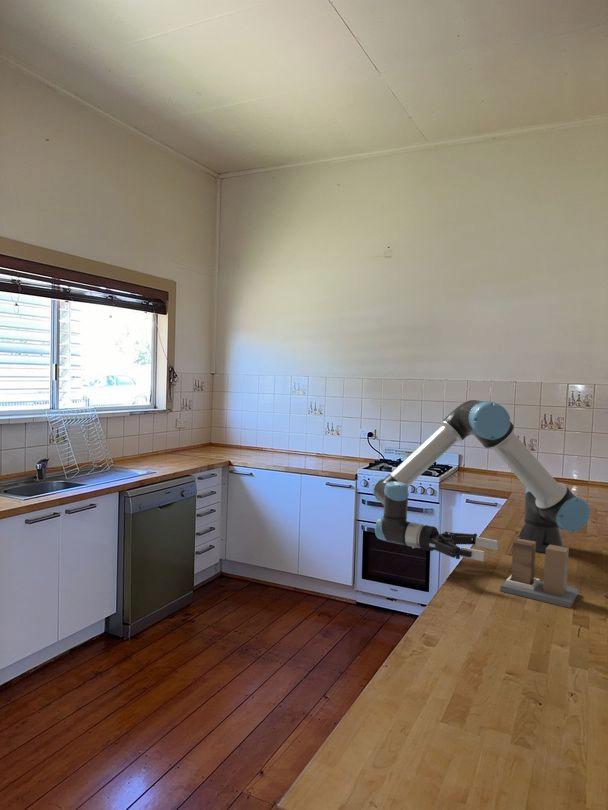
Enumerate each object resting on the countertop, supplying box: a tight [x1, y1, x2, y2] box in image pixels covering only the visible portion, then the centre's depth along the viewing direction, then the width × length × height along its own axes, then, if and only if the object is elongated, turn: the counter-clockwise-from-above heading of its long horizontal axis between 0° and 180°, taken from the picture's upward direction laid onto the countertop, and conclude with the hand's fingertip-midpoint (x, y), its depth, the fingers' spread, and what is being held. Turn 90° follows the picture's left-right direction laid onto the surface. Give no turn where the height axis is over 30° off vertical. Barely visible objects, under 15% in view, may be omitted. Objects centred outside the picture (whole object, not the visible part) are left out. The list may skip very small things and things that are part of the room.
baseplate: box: [500, 544, 579, 609], centre depth 157 cm, size 12×18×14 cm, turn 55°
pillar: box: [510, 538, 536, 585], centre depth 159 cm, size 5×5×12 cm
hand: (490, 550), depth 164 cm, fingers open, 13 cm apart
